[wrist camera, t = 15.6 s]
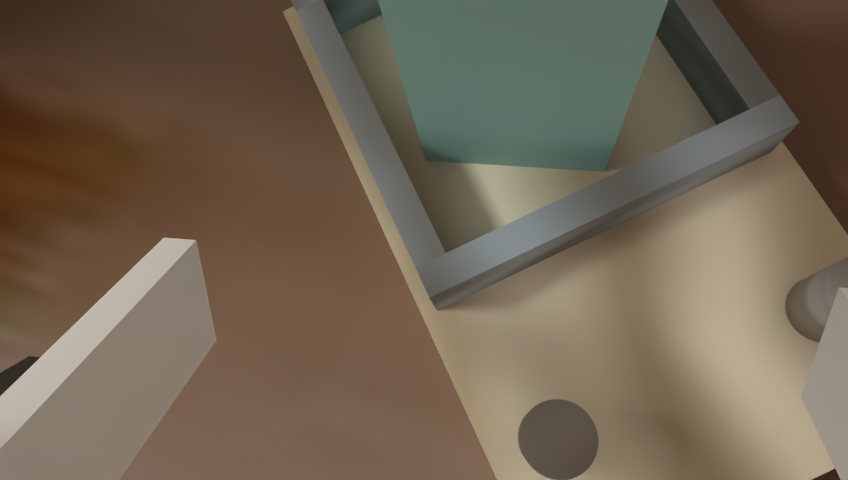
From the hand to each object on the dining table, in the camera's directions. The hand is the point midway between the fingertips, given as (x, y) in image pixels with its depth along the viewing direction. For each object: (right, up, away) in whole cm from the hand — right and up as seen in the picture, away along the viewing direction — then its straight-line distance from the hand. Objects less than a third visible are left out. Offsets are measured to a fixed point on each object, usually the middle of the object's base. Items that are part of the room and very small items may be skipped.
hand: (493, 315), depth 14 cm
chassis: (+4, +3, +9) cm, 11 cm away
